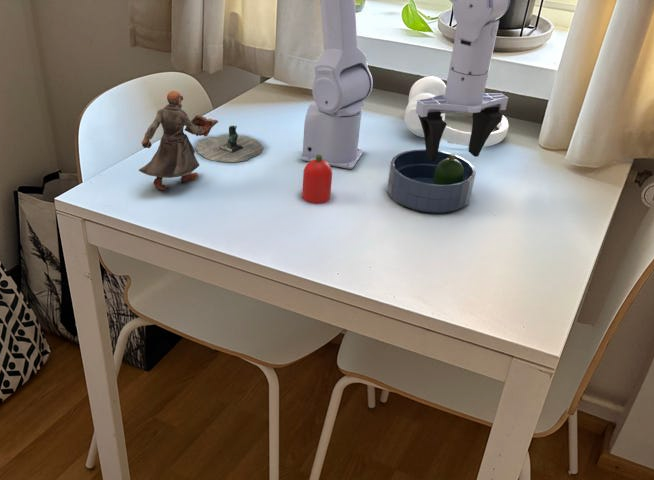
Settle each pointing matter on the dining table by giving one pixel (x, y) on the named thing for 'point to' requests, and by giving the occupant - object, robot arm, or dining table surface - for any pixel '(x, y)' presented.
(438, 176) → the green pepper
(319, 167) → the red pepper
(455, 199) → the shallow round dish
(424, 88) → the headphones
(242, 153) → the sculpture
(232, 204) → the dining table surface
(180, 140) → the figurine
